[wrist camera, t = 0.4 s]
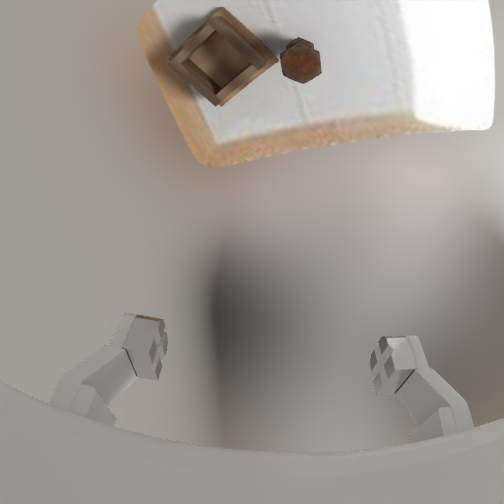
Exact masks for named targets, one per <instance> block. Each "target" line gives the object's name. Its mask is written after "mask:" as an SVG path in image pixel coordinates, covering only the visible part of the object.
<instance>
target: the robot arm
mask: <svg viewBox="0 0 504 504" xmlns="http://www.w3.org/2000/svg"><path fill="white" fill-rule="evenodd" d="M164 327H165V323H164V320H163V319H158V318H153V317H148V316H142V315H136V314H131V313H124V314H123V315H122V317H121V319H120V322H119V324H118V326H117V328H116V330H115V332H114V335H113V337H112V339H111V341H110V343H109V345H104V346H103V347H101V348H100V349H99V350H97V351H96V352H94V353H93V354H91V355H90V356H89V357H87V358H86V359H84V360H83V361H82V362H80V363H79V364H77V365H76V366H74V367H73V368H72V369H70V370H69V371H67V372H66V373H64V374H63V375H61V377H60V379H59V381H58V384H57V386H56V388H55V390H54V393H53V395H52V397H51V399H50V402H49V403H46V402H44V401H42V400H39V399H37V398H35V397H33V396H30V395H28V394H26V393H24V392H22V391H19V390H18V389H16V388H13V387H11V386H10V385H8V384H5V383H4V382H2V381H0V504H504V418H502V419H500V420H497V421H494V422H491V423H488V424H485V425H482V426H479V427H475V428H474V425H473V422H472V418H471V415H470V411H469V408H468V405H467V402H466V401H465V400H464V399H463V398H462V397H461V396H460V395H459V394H458V393H457V392H456V391H455V390H454V389H453V388H452V387H451V386H450V385H449V384H448V383H447V382H446V381H445V380H444V379H443V378H442V377H441V376H439V374H438V373H436V372H435V371H434V370H433V369H432V368H429V366H428V363H427V360H426V358H425V355H424V352H423V349H422V346H421V344H420V341H419V338H418V337H417V336H383V337H381V338H380V340H379V342H378V343H379V346H378V347H377V348H375V349H374V350H373V352H372V354H371V359H370V367H371V372H372V373H373V374H374V375H375V376H376V377H375V379H374V380H373V382H374V387H375V392H376V395H387V394H395V397H396V398H397V399H398V401H399V402H400V403H401V405H402V406H403V407H404V409H405V410H406V411H407V413H408V414H409V415H410V416H411V418H412V419H413V421H414V422H415V423H416V424H417V426H418V427H417V428H416V429H415V430H414V431H412V432H411V433H410V435H409V442H410V443H407V444H401V445H395V446H387V447H381V448H372V449H362V450H350V451H337V452H300V453H299V452H292V453H291V452H263V451H262V452H261V451H248V450H237V449H227V448H217V447H210V446H202V445H196V444H190V443H184V442H179V441H173V440H168V439H163V438H158V437H154V436H149V435H144V434H140V433H137V432H132V431H128V430H125V429H122V428H118V427H114V424H115V420H116V418H115V416H114V415H113V414H112V412H111V411H110V410H109V408H108V407H107V406H108V405H109V404H110V403H111V402H112V401H113V400H114V399H116V398H117V397H118V396H119V395H120V394H121V393H122V392H123V391H124V390H125V389H126V388H127V387H128V386H129V385H130V384H131V383H132V382H134V380H136V379H137V377H141V378H147V379H152V380H158V379H159V375H160V372H161V369H162V364H161V359H162V358H164V357H165V355H166V351H167V344H168V337H167V333H166V332H165V331H164Z"/></svg>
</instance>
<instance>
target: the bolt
mask: <svg viewBox="0 0 504 504" xmlns="http://www.w3.org/2000/svg"><path fill="white" fill-rule="evenodd" d="M280 60H281V67H282V72H283V75H284V76H286V77H287V78H290V79H292V80H294V81H297V82H299V83H303V84H304V83H306V82H308V81H310V80H312V79H313V78H315V77H317V76H318V75H319V74H321V73H322V72H321V61H320V54H319V51H317V50H315V49H314V45H313V43H311V42H309V41H307V40H304V39H302V38H299V37H298V38H297V39H295V40H293V41H292V42H290V43H289V44H287V45H286V50H285V51H284V52H282V53H281V54H280Z"/></svg>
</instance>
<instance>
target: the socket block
mask: <svg viewBox="0 0 504 504" xmlns="http://www.w3.org/2000/svg"><path fill="white" fill-rule="evenodd" d="M169 60H170V61H171V62H170V63H169V64H168V65H170V66H171V67H172V68H173V69H174V70H175V71H177V72H178V73H179V74H180V75H181V76H182V77H183V78H185V79H186V80H187V81H188V82H189V83H190V84H191V85H193V86H194V87H195V88H196V89H197V90H198V91H199V92H200V93H201V94H202V95H204V96H205V97H206V98H207V99H208V100H209V101H210V102H211V103H212V104H213V105H214V106H217V105H218V104H219V105H220V106H221V107H222V106H223V105H224V104H225V103H226V102H228V101H229V100H230V99H231V98H232V97H233V96H235V95H236V94H237V93H238V92H239V91H241V90H242V89H243V88H244V87H246V86H247V85H248V84H249V83H251V82H252V81H253V80H254V79H256V78H257V77H258V76H259V75H261V74H262V73H263V72H265V71H266V70H267V69H269V68H270V67H271V66H273V65H274V64H275V63H277V62H278V61H279V60H278V59H277V57H276V56H275V55H274V54H273V53H272V52H271V51H270V50H269V49H268V48H267V47H266V46H265V45H264V44H263V43H262V42H261V41H260V40H259V39H258V38H257V37H256V36H255V35H254V34H253V33H251V32H250V31H249V30H248V29H247V28H246V27H245V26H244V25H243V24H242V23H241V22H240V21H239V20H238V19H236V18H235V17H234V16H233V15H232V14H231V13H230V12H229V11H227V10H226V9H225V8H224V7H222V8H220V9H219V10H218V11H217V12H216V13H215V14H214V15H212V16H211V17H210V18H209V19H208V20H207V21H206V22H205V23H204V24H203V25H202V26H201V27H200V28H199V29H198V30H196V31H195V32H194V33H193V34H192V35H191V36H190V37H189V38H188V39H187V40H186V41H185V42H184V43H183V44H182V46H181V47H180V48H179V49H178V50H177V51H176V52H175V53H174V54H173V55H172V56H171V57H170V58H169Z"/></svg>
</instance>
